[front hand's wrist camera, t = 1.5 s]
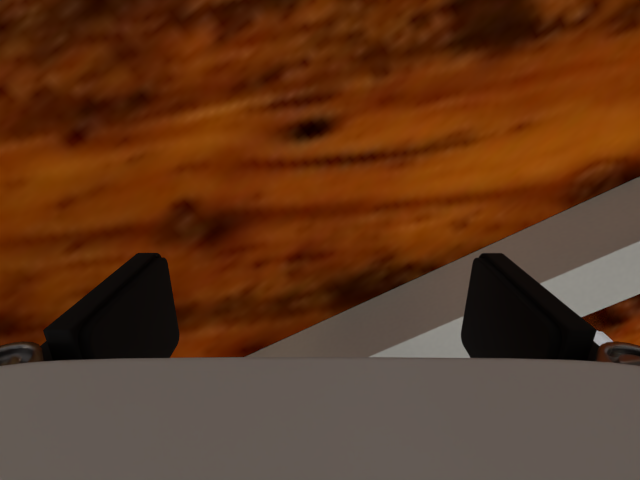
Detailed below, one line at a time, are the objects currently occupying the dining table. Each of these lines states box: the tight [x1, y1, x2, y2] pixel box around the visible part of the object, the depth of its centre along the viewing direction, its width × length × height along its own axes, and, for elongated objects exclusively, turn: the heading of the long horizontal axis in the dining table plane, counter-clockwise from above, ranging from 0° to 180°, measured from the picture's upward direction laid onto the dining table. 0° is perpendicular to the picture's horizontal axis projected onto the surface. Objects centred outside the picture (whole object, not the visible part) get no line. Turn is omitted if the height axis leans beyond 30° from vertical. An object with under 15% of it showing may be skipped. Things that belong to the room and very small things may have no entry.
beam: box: [246, 177, 640, 358], centre depth 34 cm, size 61×5×9 cm, turn 118°
